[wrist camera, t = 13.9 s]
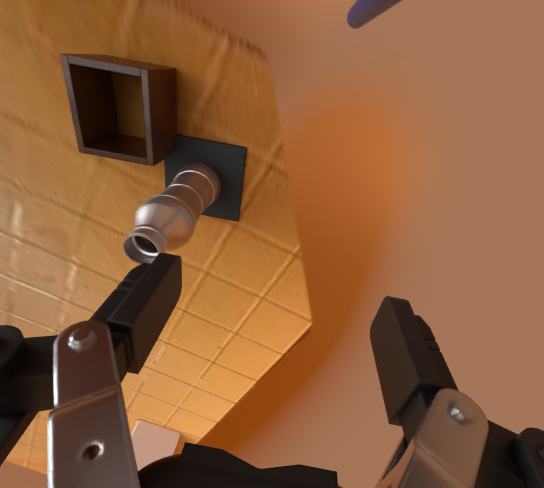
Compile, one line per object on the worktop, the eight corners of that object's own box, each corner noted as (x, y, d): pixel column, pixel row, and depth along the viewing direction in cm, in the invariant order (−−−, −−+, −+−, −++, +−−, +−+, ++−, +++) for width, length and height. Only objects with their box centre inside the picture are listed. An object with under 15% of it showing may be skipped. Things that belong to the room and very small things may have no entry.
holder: (103, 54, 38) (59, 53, 32) (176, 68, 38) (147, 69, 32) (114, 138, 44) (78, 152, 37) (177, 150, 44) (153, 166, 37)
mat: (164, 131, 43) (163, 132, 42) (246, 147, 43) (245, 148, 42) (167, 206, 49) (166, 208, 49) (238, 220, 49) (238, 221, 49)
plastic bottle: (174, 164, 45) (92, 228, 28) (216, 153, 43) (156, 213, 26) (191, 203, 48) (127, 281, 31) (230, 194, 46) (185, 271, 29)
